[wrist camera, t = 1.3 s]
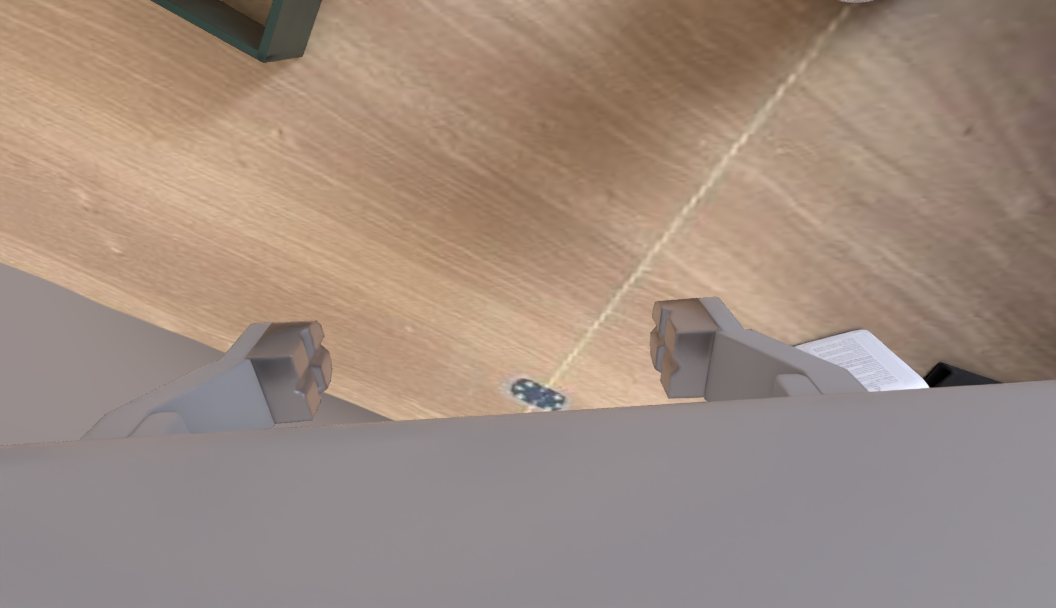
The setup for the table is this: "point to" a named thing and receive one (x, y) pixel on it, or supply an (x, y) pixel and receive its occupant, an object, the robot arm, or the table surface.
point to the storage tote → (253, 26)
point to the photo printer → (866, 361)
